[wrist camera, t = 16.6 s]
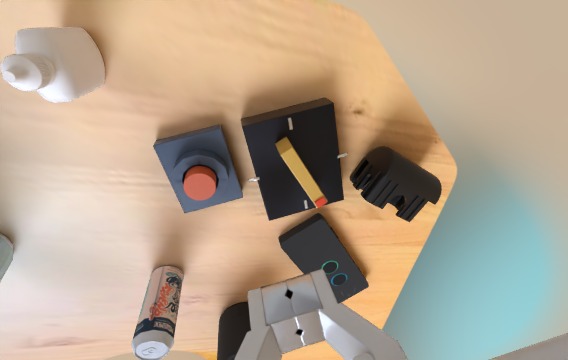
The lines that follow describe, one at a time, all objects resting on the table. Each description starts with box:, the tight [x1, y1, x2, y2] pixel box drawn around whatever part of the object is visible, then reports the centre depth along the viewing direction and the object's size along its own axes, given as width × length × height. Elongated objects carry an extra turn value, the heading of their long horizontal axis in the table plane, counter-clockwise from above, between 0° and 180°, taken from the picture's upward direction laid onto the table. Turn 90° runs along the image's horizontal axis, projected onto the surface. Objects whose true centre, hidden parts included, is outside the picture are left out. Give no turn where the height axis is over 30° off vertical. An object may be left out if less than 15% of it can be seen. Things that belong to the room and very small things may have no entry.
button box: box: [153, 125, 243, 213], centre depth 35 cm, size 10×8×4 cm
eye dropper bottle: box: [1, 27, 105, 103], centre depth 24 cm, size 4×6×12 cm
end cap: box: [350, 146, 442, 222], centre depth 40 cm, size 10×7×7 cm
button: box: [183, 166, 216, 200], centre depth 33 cm, size 4×4×2 cm
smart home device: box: [279, 213, 369, 304], centre depth 49 cm, size 8×2×20 cm
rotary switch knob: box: [275, 137, 328, 208], centre depth 34 cm, size 9×2×4 cm, turn 31°
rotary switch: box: [241, 98, 348, 221], centre depth 37 cm, size 14×13×3 cm
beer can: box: [132, 266, 183, 360], centre depth 39 cm, size 5×5×12 cm
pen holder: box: [217, 302, 251, 360], centre depth 48 cm, size 9×9×10 cm
